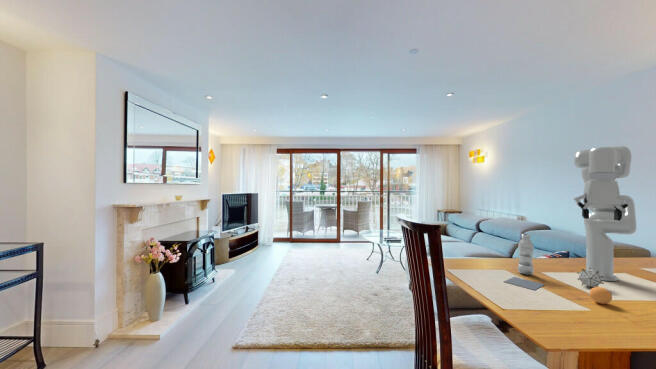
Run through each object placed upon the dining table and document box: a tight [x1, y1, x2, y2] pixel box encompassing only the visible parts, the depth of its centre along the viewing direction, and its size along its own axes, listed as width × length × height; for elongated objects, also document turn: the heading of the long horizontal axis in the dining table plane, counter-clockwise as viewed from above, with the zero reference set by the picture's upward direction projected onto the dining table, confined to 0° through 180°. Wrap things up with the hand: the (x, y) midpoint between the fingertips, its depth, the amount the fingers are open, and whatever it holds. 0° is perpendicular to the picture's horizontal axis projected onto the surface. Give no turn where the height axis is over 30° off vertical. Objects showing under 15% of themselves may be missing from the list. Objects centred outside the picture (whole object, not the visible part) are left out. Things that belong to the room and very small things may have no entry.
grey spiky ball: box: [576, 268, 605, 290], centre depth 120 cm, size 9×8×10 cm
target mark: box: [503, 276, 546, 291], centre depth 123 cm, size 12×12×1 cm
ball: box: [589, 286, 613, 305], centre depth 103 cm, size 6×6×6 cm
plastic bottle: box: [517, 233, 535, 276], centre depth 136 cm, size 6×7×20 cm
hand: (601, 219), depth 111 cm, fingers open, 9 cm apart
